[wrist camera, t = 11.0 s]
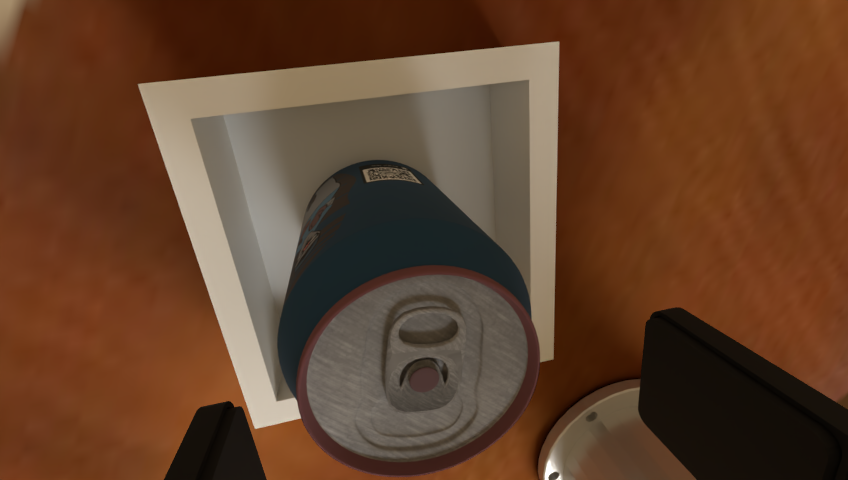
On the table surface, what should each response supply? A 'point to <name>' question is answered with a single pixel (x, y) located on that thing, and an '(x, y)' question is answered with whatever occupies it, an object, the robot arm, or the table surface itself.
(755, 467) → the robot arm
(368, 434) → the soda can
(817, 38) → the table surface
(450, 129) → the walled box
